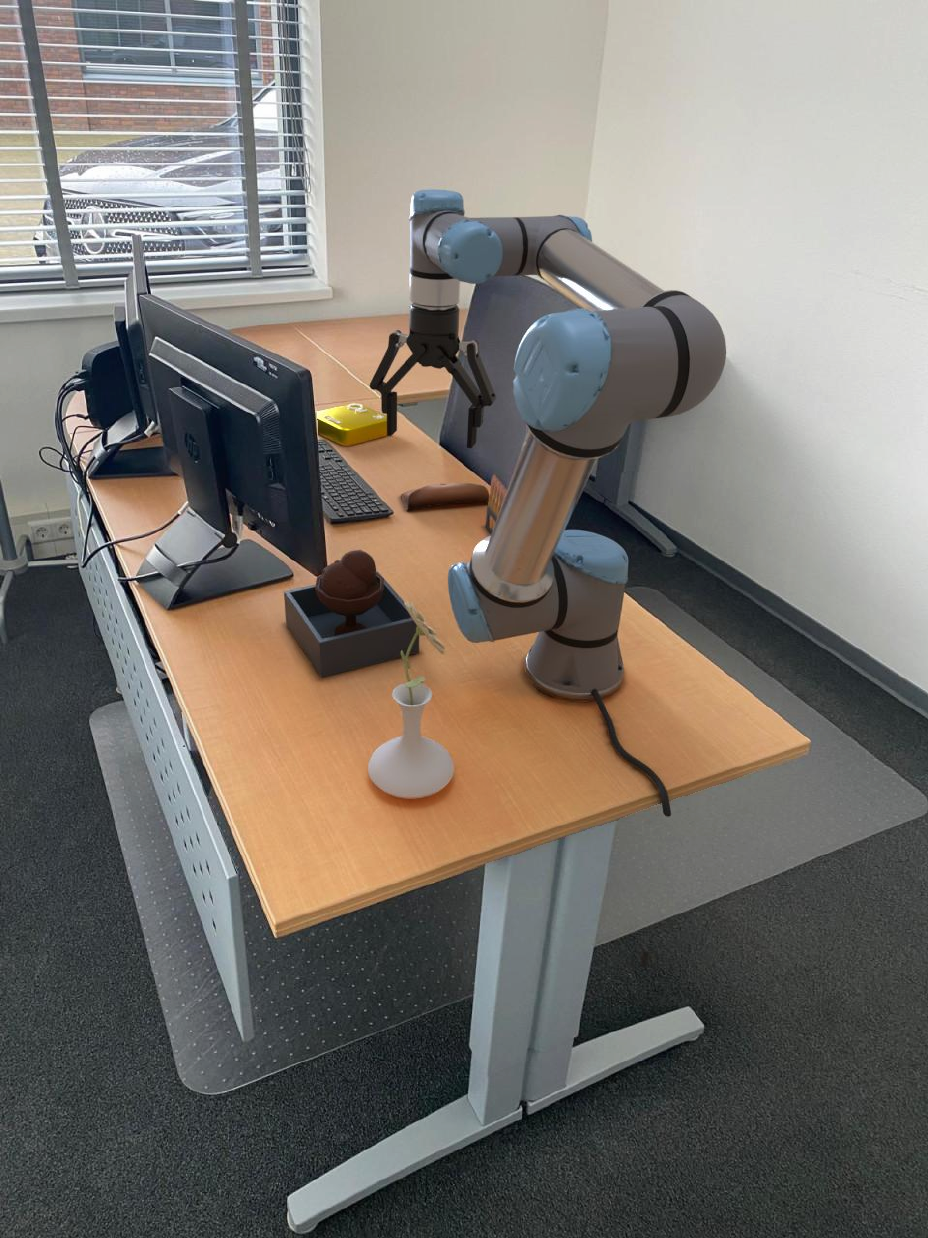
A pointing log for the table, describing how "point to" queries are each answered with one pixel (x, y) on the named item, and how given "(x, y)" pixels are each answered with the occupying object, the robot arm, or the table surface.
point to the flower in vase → (412, 737)
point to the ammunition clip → (494, 503)
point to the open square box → (355, 649)
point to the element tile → (351, 424)
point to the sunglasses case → (444, 495)
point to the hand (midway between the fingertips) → (431, 439)
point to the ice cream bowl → (350, 588)
